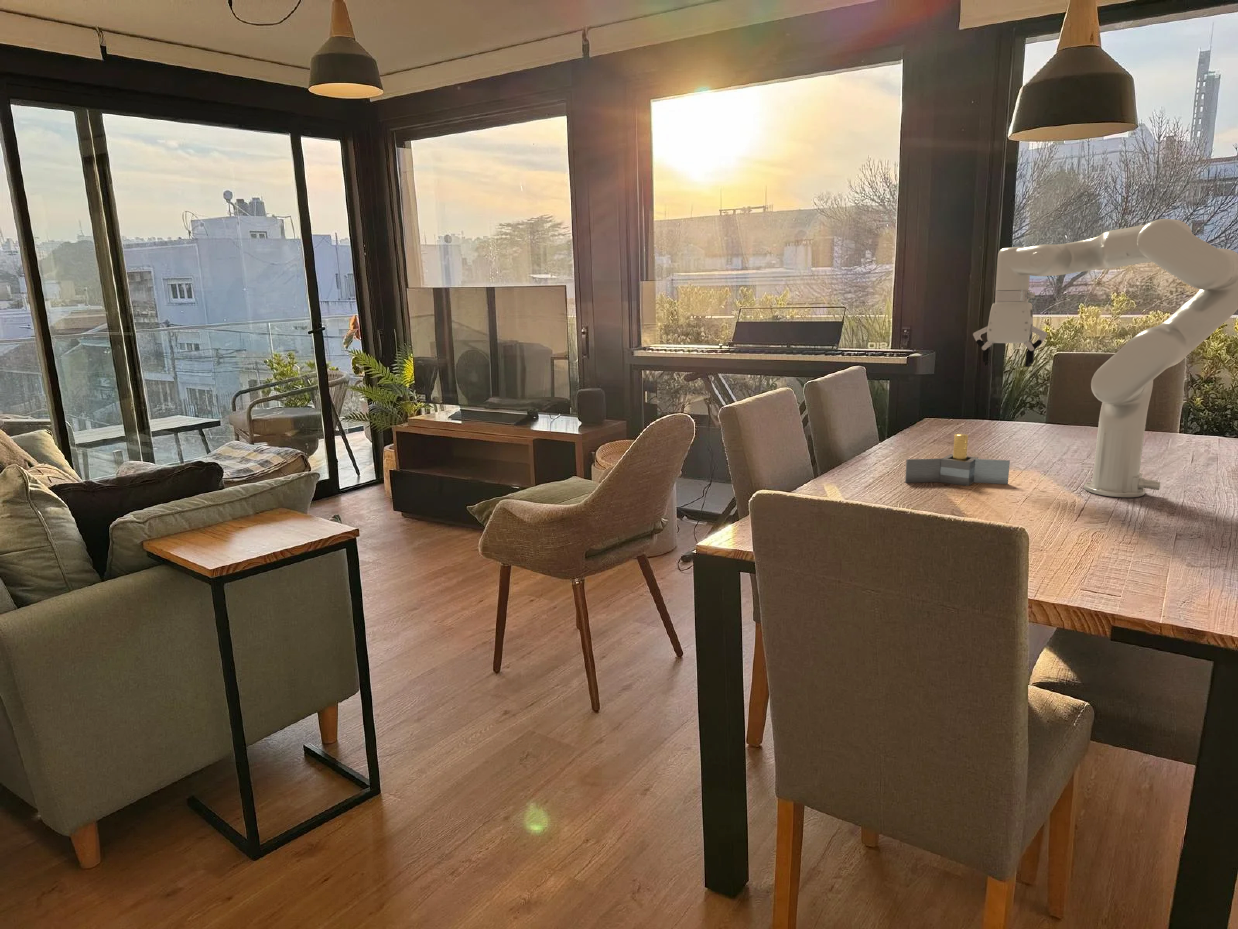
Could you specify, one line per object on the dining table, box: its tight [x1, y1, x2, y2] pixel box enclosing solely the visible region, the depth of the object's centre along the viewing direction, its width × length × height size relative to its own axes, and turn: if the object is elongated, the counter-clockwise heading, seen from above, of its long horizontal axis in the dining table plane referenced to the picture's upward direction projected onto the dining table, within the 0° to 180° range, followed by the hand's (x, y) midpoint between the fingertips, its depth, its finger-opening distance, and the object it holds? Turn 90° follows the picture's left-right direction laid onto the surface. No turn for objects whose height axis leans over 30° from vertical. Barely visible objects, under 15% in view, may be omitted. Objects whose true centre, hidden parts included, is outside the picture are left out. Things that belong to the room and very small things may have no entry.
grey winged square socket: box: [904, 453, 1011, 487], centre depth 211 cm, size 21×13×6 cm, turn 51°
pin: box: [952, 433, 969, 461], centre depth 212 cm, size 3×3×12 cm
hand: (1007, 365), depth 215 cm, fingers open, 9 cm apart
